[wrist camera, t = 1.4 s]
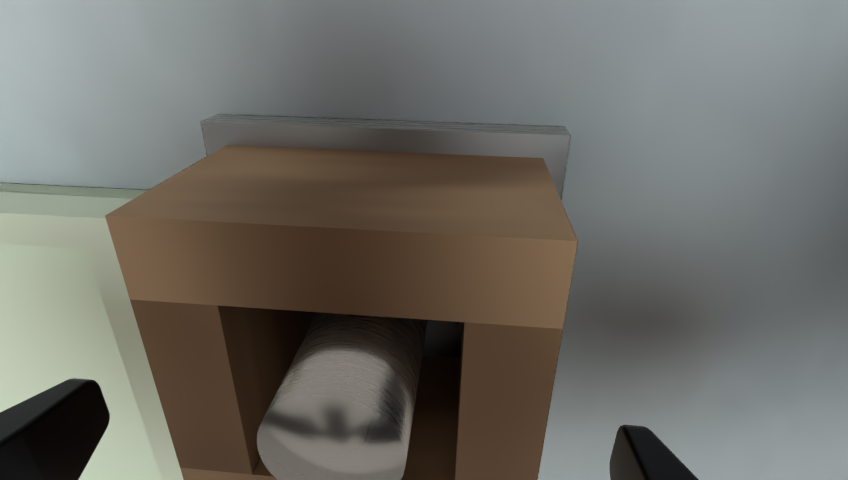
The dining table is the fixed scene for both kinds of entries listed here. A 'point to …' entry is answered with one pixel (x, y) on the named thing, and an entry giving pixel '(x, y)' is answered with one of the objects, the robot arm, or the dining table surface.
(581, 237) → the dining table surface
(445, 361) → the brown piece
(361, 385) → the stake
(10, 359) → the tray
